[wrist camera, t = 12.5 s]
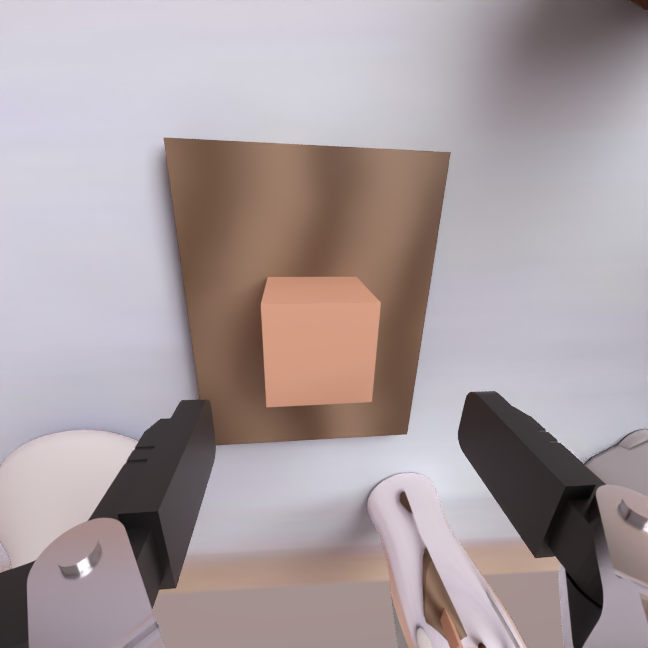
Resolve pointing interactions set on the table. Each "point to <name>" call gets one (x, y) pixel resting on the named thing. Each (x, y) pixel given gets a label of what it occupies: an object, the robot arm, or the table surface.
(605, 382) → the table surface
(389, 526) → the beer glass
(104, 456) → the flower in vase
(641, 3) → the food container
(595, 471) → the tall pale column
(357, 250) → the walnut board
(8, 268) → the table surface
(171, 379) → the table surface
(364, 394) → the terracotta cube
